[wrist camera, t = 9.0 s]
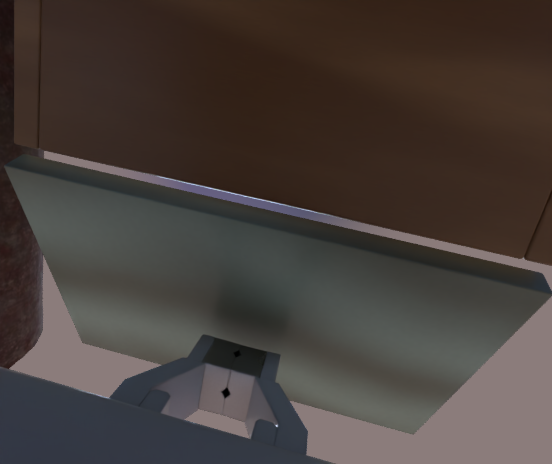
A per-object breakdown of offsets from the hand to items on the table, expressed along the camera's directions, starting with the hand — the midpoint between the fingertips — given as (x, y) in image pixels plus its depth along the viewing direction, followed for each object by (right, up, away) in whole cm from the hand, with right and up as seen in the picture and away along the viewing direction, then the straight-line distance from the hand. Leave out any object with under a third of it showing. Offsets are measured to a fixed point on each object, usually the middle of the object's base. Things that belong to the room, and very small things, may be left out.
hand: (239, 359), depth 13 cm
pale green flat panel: (0, +2, 0) cm, 2 cm away
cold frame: (+3, +14, -1) cm, 15 cm away
